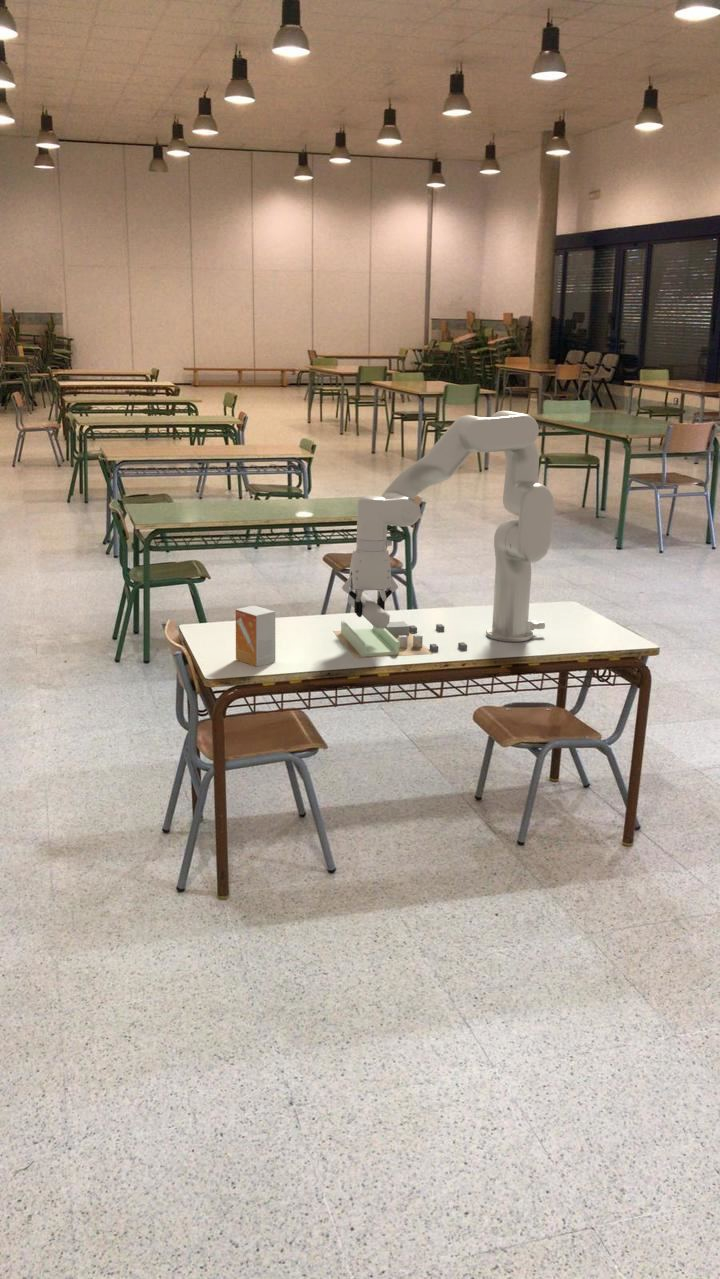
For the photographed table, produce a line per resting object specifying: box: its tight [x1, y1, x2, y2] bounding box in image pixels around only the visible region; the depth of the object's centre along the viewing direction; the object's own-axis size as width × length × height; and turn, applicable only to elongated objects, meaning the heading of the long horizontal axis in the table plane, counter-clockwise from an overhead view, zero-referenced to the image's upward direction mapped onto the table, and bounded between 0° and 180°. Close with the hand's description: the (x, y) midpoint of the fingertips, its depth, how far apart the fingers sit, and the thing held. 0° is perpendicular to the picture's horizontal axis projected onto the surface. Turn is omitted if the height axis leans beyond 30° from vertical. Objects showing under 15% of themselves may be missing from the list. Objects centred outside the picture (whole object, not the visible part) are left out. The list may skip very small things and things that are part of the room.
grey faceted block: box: [385, 621, 410, 636], centre depth 290 cm, size 6×5×2 cm
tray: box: [340, 620, 399, 657], centre depth 280 cm, size 10×22×3 cm, turn 14°
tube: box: [347, 589, 391, 629], centre depth 278 cm, size 5×5×25 cm
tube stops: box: [409, 623, 468, 653], centre depth 285 cm, size 9×20×2 cm, turn 14°
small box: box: [235, 605, 276, 668], centre depth 266 cm, size 8×6×13 cm
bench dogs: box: [398, 634, 424, 649], centre depth 277 cm, size 6×2×3 cm, turn 105°
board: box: [332, 630, 434, 659], centre depth 282 cm, size 20×25×1 cm
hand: (369, 614), depth 278 cm, fingers closed on tube, 4 cm apart
